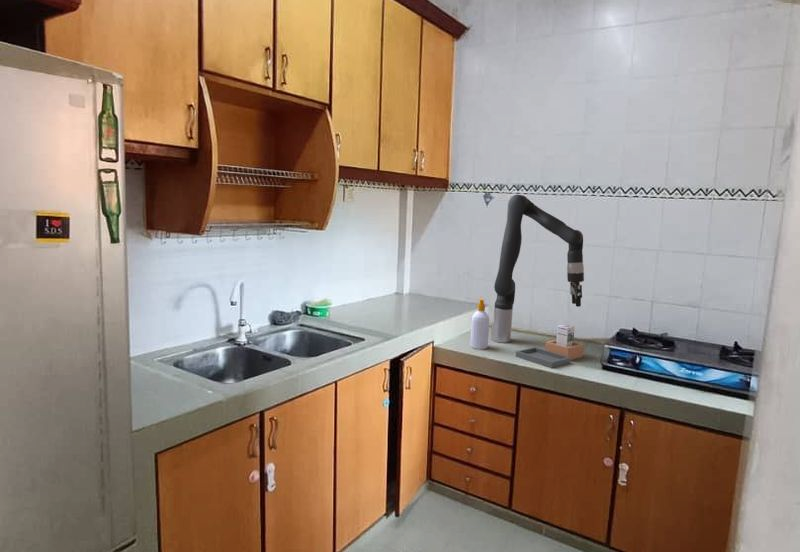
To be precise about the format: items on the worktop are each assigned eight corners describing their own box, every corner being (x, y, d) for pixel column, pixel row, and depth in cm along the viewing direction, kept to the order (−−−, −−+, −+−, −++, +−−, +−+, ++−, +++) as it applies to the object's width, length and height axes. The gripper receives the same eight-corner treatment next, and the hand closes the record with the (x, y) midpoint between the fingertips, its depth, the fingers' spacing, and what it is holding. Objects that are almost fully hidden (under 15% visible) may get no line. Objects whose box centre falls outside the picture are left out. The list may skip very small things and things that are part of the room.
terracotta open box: (544, 354, 249) (545, 341, 249) (560, 350, 257) (561, 338, 256) (567, 360, 240) (568, 348, 239) (582, 356, 247) (583, 344, 247)
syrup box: (565, 357, 244) (568, 327, 242) (554, 354, 249) (557, 325, 247) (572, 356, 248) (575, 326, 246) (561, 353, 252) (564, 323, 250)
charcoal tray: (515, 356, 244) (515, 351, 243) (534, 352, 252) (534, 346, 252) (551, 368, 228) (551, 362, 228) (570, 363, 237) (570, 357, 236)
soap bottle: (487, 344, 263) (489, 298, 259) (488, 349, 253) (491, 301, 250) (469, 343, 263) (472, 297, 260) (470, 348, 254) (473, 300, 251)
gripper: (564, 270, 258) (565, 303, 260) (570, 273, 244) (571, 307, 245) (580, 270, 257) (581, 302, 259) (587, 272, 243) (588, 307, 245)
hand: (576, 305), depth 252 cm, fingers open, 8 cm apart
